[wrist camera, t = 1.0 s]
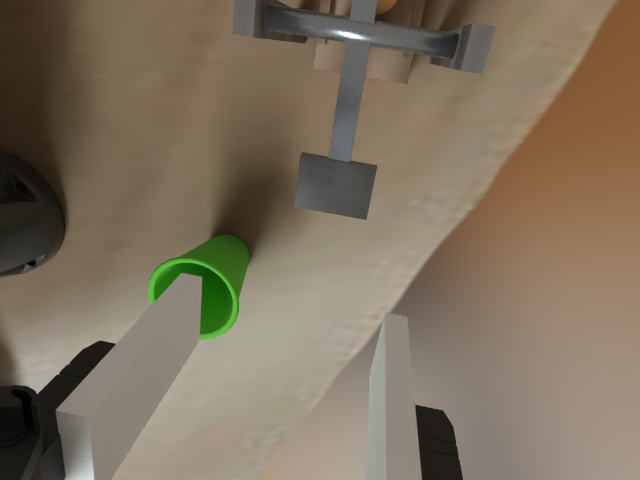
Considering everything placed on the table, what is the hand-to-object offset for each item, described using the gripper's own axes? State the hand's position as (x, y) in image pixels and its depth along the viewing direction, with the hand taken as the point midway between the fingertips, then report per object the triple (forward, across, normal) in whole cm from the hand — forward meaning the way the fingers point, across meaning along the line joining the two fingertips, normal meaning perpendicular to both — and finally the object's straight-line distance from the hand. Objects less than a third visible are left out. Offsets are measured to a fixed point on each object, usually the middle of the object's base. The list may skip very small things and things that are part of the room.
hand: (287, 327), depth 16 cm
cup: (+33, -12, -15) cm, 38 cm away
